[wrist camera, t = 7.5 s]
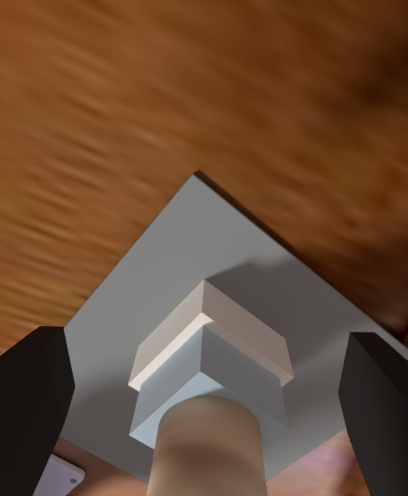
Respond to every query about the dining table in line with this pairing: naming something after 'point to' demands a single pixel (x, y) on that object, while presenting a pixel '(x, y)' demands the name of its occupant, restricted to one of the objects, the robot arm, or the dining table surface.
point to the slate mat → (236, 288)
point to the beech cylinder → (208, 451)
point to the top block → (210, 386)
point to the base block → (221, 323)
